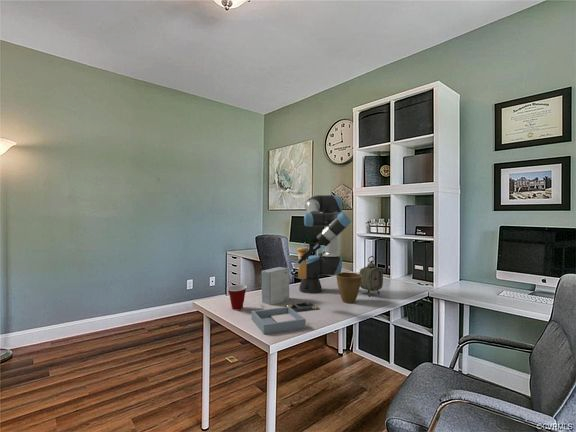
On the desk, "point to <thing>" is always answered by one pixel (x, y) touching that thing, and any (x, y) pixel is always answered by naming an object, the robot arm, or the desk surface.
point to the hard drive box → (275, 285)
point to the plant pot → (348, 286)
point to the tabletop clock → (371, 277)
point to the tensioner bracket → (302, 307)
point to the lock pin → (303, 266)
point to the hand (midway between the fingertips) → (295, 266)
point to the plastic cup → (237, 296)
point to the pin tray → (270, 325)
